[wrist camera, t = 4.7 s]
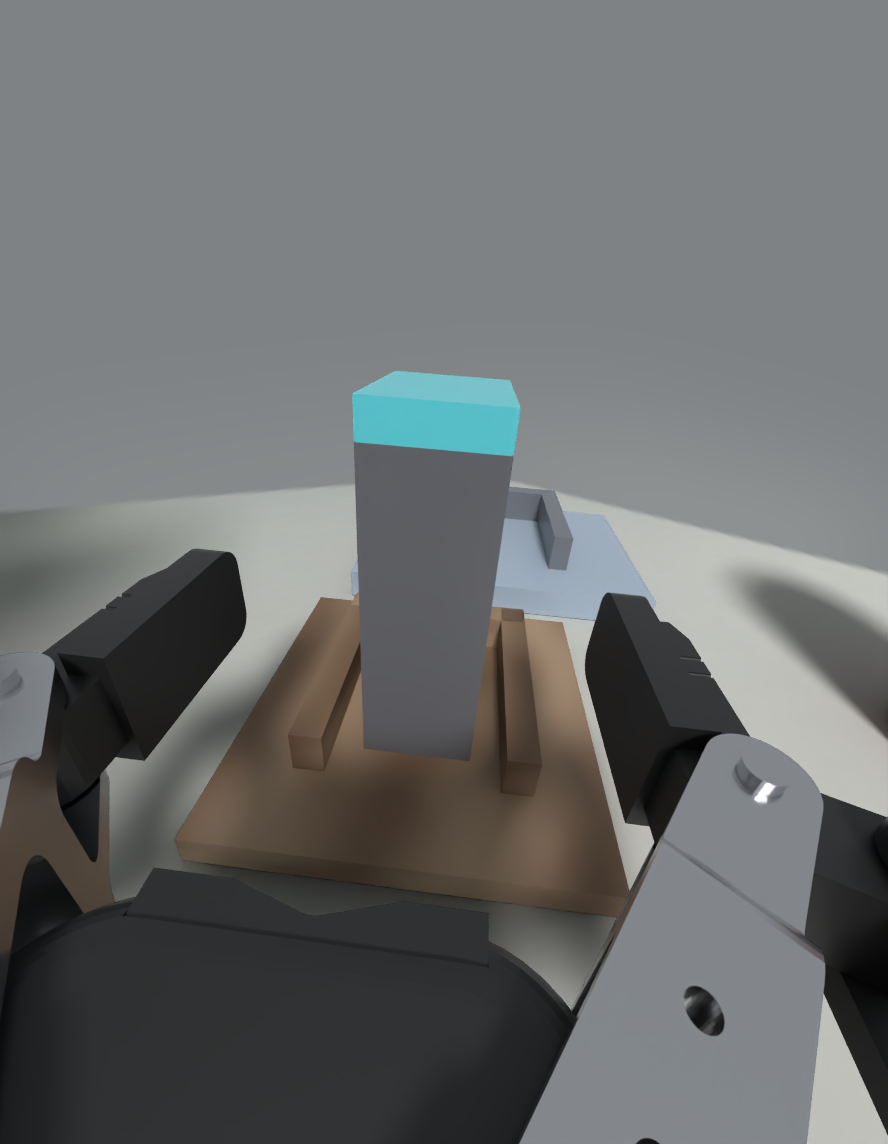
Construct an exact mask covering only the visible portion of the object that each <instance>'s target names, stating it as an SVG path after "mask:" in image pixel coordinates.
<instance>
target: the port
mask: <svg viewBox="0 0 888 1144" xmlns="http://www.w3.org/2000/svg"><path fill="white" fill-rule="evenodd" d="M351 579H352V595H356V593H357V592H358V593H359V584H358V560H357V562H356V563H355V565H354V567H353V569H352V571H351ZM608 592H609V593H619V594H628V595H638V596H644V597H646V598H647V600H648V602H649V603H650V605H651V607H652V609H653V610H654V607H655V604H656V601H655V600H654V598H653V596H652V595H651V593H650V591H649V590H648V588H647V586H646V585H645V583H644V581H643V580H642V578H641V576H640V575H639V573H638V571H637V570H636V568H635V566H634V565H633V563H632V561H631V560H630V558H629V556H628V555H627V553H626V551H625V550H624V548H623V546H622V545H621V543H620V541H619V540H618V538H617V536H616V535H615V533H614V531H613V530H612V528H611V526H610V525H609V523H608V521H607V520H606V518H605V516H604V515H597V514H586V513H576V512H565V511H562V509H561V506H560V504H559V501H558V498H557V496H556V493H555V491H550V490H539V489H528V488H517V487H509V491H508V498H507V505H506V512H505V519H504V526H503V533H502V540H501V547H500V554H499V561H498V567H497V574H496V581H495V588H494V595H493V602H492V606H493V607H503V608H512V609H522V610H523V611H524V613H530V614H540V615H549V616H559V617H568V618H578V619H588V620H596V617H597V614H598V610H599V607H600V603H601V600H602V598H603V596H604V595H605V594H606V593H608Z"/></svg>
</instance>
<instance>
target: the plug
mask: <svg viewBox="0 0 888 1144" xmlns="http://www.w3.org/2000/svg"><path fill="white" fill-rule="evenodd" d="M352 397H353V427H354V460H355V491H356V522H357V553H358V584H359V615H360V646H361V677H362V708H363V739H364V749H371V750H379V751H387V752H396V753H404V754H413V755H421V756H430V757H438V758H446V759H455V760H463V761H470V755H471V748H472V741H473V734H474V727H475V720H476V713H477V706H478V699H479V692H480V685H481V678H482V672H483V665H484V658H485V651H486V644H487V637H488V630H489V623H490V616H491V609H492V602H493V595H494V588H495V581H496V574H497V567H498V561H499V554H500V547H501V540H502V533H503V526H504V519H505V512H506V505H507V498H508V491H509V484H510V477H511V470H512V463H513V456H514V449H515V443H516V436H517V429H518V422H519V415H520V405H519V402H518V400H517V397H516V395H515V392H514V389H513V387H512V384H511V381H510V380H499V379H488V378H475V377H463V376H450V375H438V374H427V373H415V372H414V373H413V372H403V371H394V372H393V373H391V374H389V375H387V376H385V377H383V378H381V379H379V380H377V381H376V382H374V383H372V384H370V385H368V386H366V387H364V388H362V389H360V390H358V391H356V392H355V393H353V394H352Z"/></svg>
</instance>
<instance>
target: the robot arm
mask: <svg viewBox="0 0 888 1144" xmlns="http://www.w3.org/2000/svg"><path fill="white" fill-rule="evenodd" d="M245 625H246V607H245V602H244V596H243V591H242V585H241V580H240V575H239V569H238V564H237V560H236V558H235V556H234V555H233V554H232V553H230V552H224V551H214V550H204V549H192V550H190V551H189V552H188V553H186V554H185V555H184V556H182V557H181V558H180V559H178V560H177V561H176V562H175V563H173V564H172V565H171V566H169V567H168V568H166V569H164V570H162V571H159V572H157V573H155V574H153V575H150V576H148V577H146V578H143V579H141V580H140V581H138V582H137V583H136V584H134V585H133V586H132V587H130V588H129V589H128V590H126V591H125V592H124V593H122V597H117V598H116V599H114V600H113V601H112V602H110V603H109V604H108V605H106V609H101V610H100V611H98V612H97V613H96V614H94V615H93V616H92V617H90V618H89V619H88V620H86V621H85V622H84V623H82V624H81V625H79V626H78V627H77V628H75V629H74V630H73V631H71V632H70V633H69V634H67V635H66V636H65V637H63V638H62V639H61V640H59V641H58V642H57V643H55V644H54V645H53V646H51V647H50V648H49V649H47V650H46V651H45V652H43V653H42V654H41V653H34V652H21V653H13V654H7V655H2V656H0V1144H807V1136H808V1127H809V1118H810V1109H811V1100H812V1091H813V1082H814V1073H815V1064H816V1055H817V1046H818V1037H819V1028H820V1019H821V1010H822V1001H823V993H824V995H825V997H826V999H827V1002H828V1004H829V1006H830V1008H831V1011H832V1013H833V1015H834V1017H835V1019H836V1022H837V1024H838V1026H839V1028H840V1030H841V1033H842V1035H843V1037H844V1039H845V1042H846V1044H847V1046H848V1048H849V1050H850V1053H851V1055H852V1057H853V1059H854V1061H855V1064H856V1066H857V1068H858V1070H859V1073H860V1075H861V1077H862V1079H863V1081H864V1084H865V1086H866V1088H867V1090H868V1092H869V1095H870V1097H871V1099H872V1101H873V1104H874V1106H875V1108H876V1110H877V1112H878V1115H879V1117H880V1119H881V1121H882V1123H883V1126H884V1128H885V1130H886V1132H887V1135H888V817H884V816H882V815H879V814H876V813H873V812H871V811H868V810H865V809H862V808H860V807H857V806H854V805H851V804H849V803H846V802H843V801H840V800H838V799H835V798H832V797H829V796H827V795H824V794H822V793H820V791H819V789H818V787H817V786H816V784H815V783H814V781H813V780H812V778H811V777H810V776H809V775H808V774H807V772H806V771H805V770H804V769H803V768H802V767H801V766H800V765H799V764H798V763H796V762H795V761H794V760H793V759H791V758H790V757H789V756H787V755H786V754H784V753H783V752H782V751H780V750H778V749H777V748H775V747H773V746H771V745H769V744H767V743H765V742H763V741H761V740H758V739H755V738H752V737H750V736H749V734H748V733H747V731H746V729H745V728H744V726H743V725H742V723H741V721H740V720H739V718H738V717H737V715H736V713H735V712H734V710H733V709H732V707H731V705H730V704H729V702H728V701H727V699H726V697H725V696H724V694H723V693H722V691H721V689H720V688H719V686H718V685H717V683H716V681H715V680H714V678H711V673H710V672H709V670H708V669H707V667H706V665H705V664H704V662H701V657H700V656H699V654H698V653H697V651H696V649H695V648H694V646H693V645H692V643H691V641H690V640H689V639H688V638H687V637H686V636H685V635H683V634H682V633H681V632H680V631H679V630H677V629H676V628H675V627H674V626H673V625H671V624H670V623H669V622H660V621H659V619H658V618H657V616H656V614H655V612H654V610H653V609H652V607H651V605H650V603H649V602H648V600H647V598H646V597H644V596H638V595H628V594H619V593H609V592H608V593H606V594H605V595H604V596H603V598H602V600H601V603H600V607H599V610H598V614H597V617H596V621H595V624H594V627H593V631H592V634H591V638H590V641H589V645H588V648H587V652H586V659H585V674H586V680H587V684H588V687H589V691H590V695H591V699H592V702H593V706H594V710H595V713H596V717H597V721H598V724H599V728H600V732H601V736H602V739H603V743H604V747H605V750H606V754H607V758H608V761H609V765H610V769H611V773H612V776H613V780H614V784H615V787H616V791H617V795H618V799H619V802H620V806H621V810H622V813H623V817H624V821H625V823H628V824H636V825H644V826H650V829H651V832H652V836H653V839H654V844H653V846H652V847H651V849H650V851H649V853H648V855H647V857H646V859H645V861H644V863H643V865H642V868H641V870H640V872H639V874H638V876H637V878H636V880H635V882H634V884H633V886H632V888H631V890H630V892H629V894H628V896H627V898H626V900H625V902H624V904H623V906H622V908H621V910H620V912H619V914H618V916H617V918H616V920H615V923H614V925H613V927H612V929H611V931H610V933H609V935H608V937H607V939H606V941H605V943H604V945H603V947H602V949H601V951H600V953H599V955H598V957H597V959H596V961H595V963H594V964H593V966H592V968H591V970H590V972H589V974H588V976H587V978H586V980H585V982H584V984H583V986H582V988H581V990H580V992H579V994H578V996H577V998H576V1000H575V1002H574V1004H573V1006H572V1008H571V1010H570V1008H569V1007H568V1006H567V1005H566V1003H565V1002H564V1001H563V999H562V998H561V997H560V996H559V995H558V994H557V993H556V992H555V991H554V990H553V989H552V987H551V986H550V985H549V984H548V983H547V982H546V981H545V980H544V979H543V978H542V977H541V976H540V975H538V974H537V973H536V972H535V971H534V970H533V969H531V968H530V967H529V966H528V965H527V964H525V963H524V962H523V961H522V960H520V959H518V958H517V957H515V956H514V955H512V954H511V953H509V952H508V951H506V950H505V949H503V948H501V947H499V946H497V945H495V944H493V943H491V942H489V941H488V913H483V912H476V911H469V910H461V909H454V908H447V907H439V906H432V905H424V904H417V903H410V902H400V903H393V904H387V905H381V906H375V907H369V908H363V909H357V910H350V911H344V912H338V913H332V914H326V915H319V916H312V915H307V914H304V913H301V912H299V911H297V910H295V909H293V908H291V907H289V906H287V905H285V904H284V903H282V902H280V901H278V900H276V899H274V898H272V897H270V896H268V895H266V894H264V893H262V892H260V891H258V890H256V889H254V888H252V887H250V886H248V885H246V884H244V883H242V882H240V881H238V880H236V879H233V878H226V877H219V876H211V875H204V874H196V873H189V872H182V871H174V870H167V869H160V868H154V869H153V870H152V872H151V873H150V875H149V877H148V878H147V880H146V882H145V883H144V885H143V887H142V888H141V890H140V891H139V893H138V895H137V896H136V897H132V898H129V899H125V900H122V901H118V902H115V901H114V898H113V894H112V891H111V886H110V879H109V777H108V775H107V772H106V770H105V769H106V767H107V766H108V765H109V764H110V763H111V762H112V760H113V759H114V758H115V757H119V758H127V759H135V760H143V761H145V760H146V758H147V757H148V756H149V755H150V753H151V752H152V751H153V749H154V748H155V747H156V746H157V744H158V743H159V742H160V740H161V739H162V738H163V737H164V735H165V734H166V733H167V732H168V730H169V729H170V728H171V726H172V725H173V724H174V723H175V721H176V720H177V719H178V717H179V716H180V715H181V714H182V712H183V711H184V710H185V708H186V707H187V706H188V705H189V703H190V702H191V701H192V700H193V698H194V697H195V696H196V694H197V693H198V692H199V691H200V689H201V688H202V687H203V685H204V684H205V683H206V682H207V680H208V679H209V678H210V676H211V675H212V674H213V673H214V671H215V670H216V669H217V668H218V666H219V665H220V664H221V662H222V661H223V660H224V659H225V657H226V656H227V655H228V653H229V652H230V651H231V650H232V648H233V647H234V646H235V645H236V643H237V642H238V641H239V639H240V638H241V636H242V634H243V632H244V629H245Z"/></svg>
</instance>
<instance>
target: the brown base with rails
mask: <svg viewBox="0 0 888 1144" xmlns="http://www.w3.org/2000/svg"><path fill="white" fill-rule="evenodd" d="M174 841H175V843H176V846H177V848H178V851H179V853H180V856H181V858H182V860H185V861H192V862H200V863H208V864H215V865H223V866H230V867H238V868H246V869H253V870H261V871H268V872H276V873H284V874H291V875H299V876H306V877H314V878H322V879H329V880H337V881H344V882H352V883H360V884H367V885H375V886H382V887H390V888H398V889H405V890H413V891H420V892H428V893H435V894H443V895H451V896H458V897H466V898H473V899H481V900H489V901H496V902H504V903H511V904H519V905H527V906H534V907H542V908H549V909H557V910H565V911H572V912H580V913H587V914H595V915H603V916H610V917H617V916H618V914H619V912H620V910H621V908H622V906H623V904H624V902H625V900H626V898H627V896H628V894H629V888H628V884H627V880H626V876H625V872H624V868H623V864H622V860H621V856H620V852H619V848H618V844H617V840H616V836H615V832H614V828H613V824H612V820H611V816H610V812H609V808H608V803H607V799H606V795H605V791H604V787H603V783H602V779H601V775H600V771H599V767H598V763H597V759H596V755H595V751H594V747H593V743H592V739H591V735H590V731H589V727H588V723H587V719H586V715H585V711H584V707H583V703H582V699H581V695H580V691H579V687H578V683H577V679H576V675H575V671H574V667H573V663H572V658H571V654H570V650H569V646H568V642H567V638H566V634H565V630H564V626H563V623H562V622H552V621H542V620H533V619H524V611H523V610H522V609H512V608H503V607H493V606H492V609H491V616H490V623H489V630H488V637H487V644H486V651H485V658H484V665H483V672H482V678H481V685H480V692H479V699H478V706H477V713H476V720H475V727H474V734H473V741H472V748H471V755H470V761H463V760H455V759H446V758H438V757H430V756H421V755H413V754H404V753H396V752H387V751H379V750H371V749H364V739H363V708H362V677H361V646H360V615H359V593H358V592H357V593H356V595H355V597H354V600H353V601H351V600H342V599H332V598H323V597H321V598H320V600H319V602H318V603H317V605H316V607H315V608H314V610H313V612H312V613H311V615H310V616H309V618H308V620H307V621H306V623H305V625H304V626H303V628H302V630H301V631H300V633H299V635H298V636H297V638H296V640H295V641H294V643H293V644H292V646H291V648H290V649H289V651H288V653H287V654H286V656H285V658H284V659H283V661H282V663H281V664H280V666H279V668H278V669H277V671H276V672H275V674H274V676H273V677H272V679H271V681H270V682H269V684H268V686H267V687H266V689H265V691H264V692H263V694H262V696H261V697H260V699H259V700H258V702H257V704H256V705H255V707H254V709H253V710H252V712H251V714H250V715H249V717H248V719H247V720H246V722H245V723H244V725H243V727H242V728H241V730H240V732H239V733H238V735H237V737H236V738H235V740H234V742H233V743H232V745H231V747H230V748H229V750H228V751H227V753H226V755H225V756H224V758H223V760H222V761H221V763H220V765H219V766H218V768H217V770H216V771H215V773H214V775H213V776H212V778H211V779H210V781H209V783H208V784H207V786H206V788H205V789H204V791H203V793H202V794H201V796H200V798H199V799H198V801H197V802H196V804H195V806H194V807H193V809H192V811H191V812H190V814H189V816H188V817H187V819H186V821H185V822H184V824H183V826H182V827H181V829H180V830H179V832H178V834H177V835H176V837H175V839H174Z"/></svg>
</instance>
